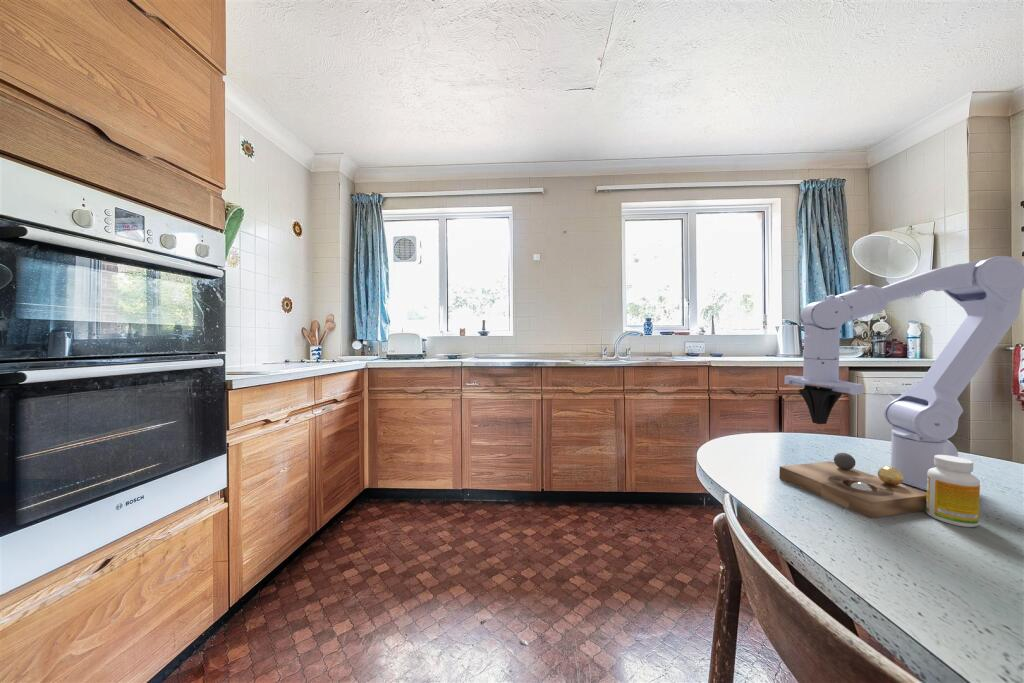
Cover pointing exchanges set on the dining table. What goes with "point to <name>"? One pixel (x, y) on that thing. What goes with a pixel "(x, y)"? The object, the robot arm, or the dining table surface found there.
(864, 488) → the steel ball
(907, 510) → the brown wooden hole board
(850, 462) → the gray ball
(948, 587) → the dining table surface
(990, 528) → the dining table surface
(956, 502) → the supplement bottle
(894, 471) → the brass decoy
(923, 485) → the robot arm
